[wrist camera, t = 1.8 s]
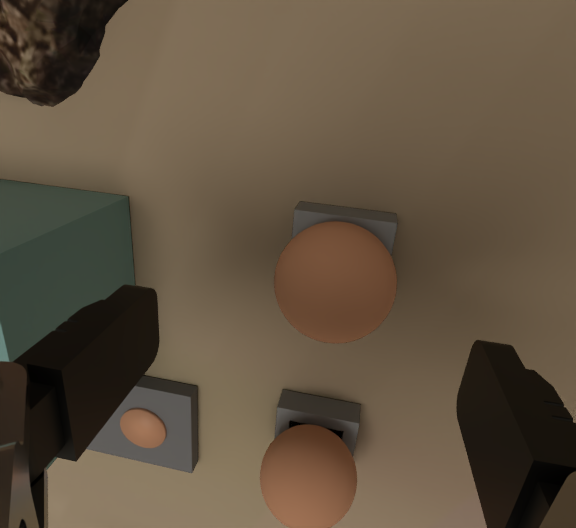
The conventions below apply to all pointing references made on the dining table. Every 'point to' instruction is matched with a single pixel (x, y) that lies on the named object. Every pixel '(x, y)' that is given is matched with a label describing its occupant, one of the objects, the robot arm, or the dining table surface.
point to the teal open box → (57, 258)
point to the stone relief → (50, 46)
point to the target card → (154, 425)
